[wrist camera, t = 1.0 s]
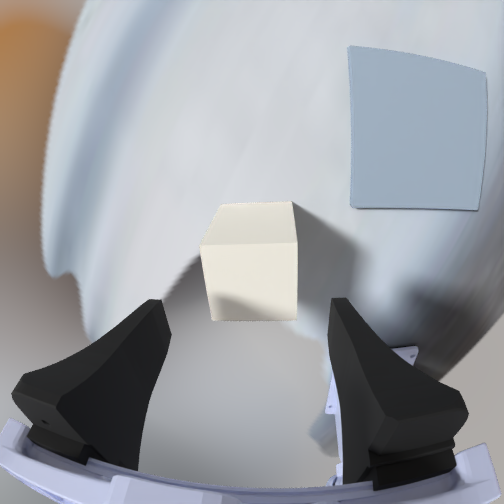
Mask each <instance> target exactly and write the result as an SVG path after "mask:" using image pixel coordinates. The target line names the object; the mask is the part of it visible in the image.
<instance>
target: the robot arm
mask: <svg viewBox="0 0 504 504" xmlns="http://www.w3.org/2000/svg"><path fill="white" fill-rule="evenodd" d="M171 335H172V334H171V331H170V328H169V325H168V321H167V318H166V314H165V311H164V308H163V304H162V300H154V299H149V300H147V301H146V302H145V303H143V304H142V305H141V306H140V307H138V308H137V309H136V310H135V311H134V312H132V313H131V314H130V315H129V316H128V317H126V318H125V319H124V320H123V321H122V322H120V323H119V324H118V325H117V326H116V327H114V328H113V329H112V330H110V331H109V332H108V333H106V334H105V335H104V336H102V337H101V338H100V339H98V340H97V341H95V342H94V343H92V344H91V345H89V346H88V347H86V348H85V349H83V350H81V351H79V352H77V353H76V354H73V355H72V356H70V357H68V358H66V359H64V360H62V361H59V362H57V363H55V364H52V365H50V366H47V367H45V368H42V369H39V370H35V371H32V372H29V373H25V374H24V375H23V376H22V377H21V379H20V381H19V382H18V384H17V385H16V387H15V388H14V390H13V392H12V393H11V394H12V398H13V400H14V402H15V404H16V405H17V406H18V407H19V408H20V409H21V411H22V412H23V413H24V414H25V415H26V416H27V418H28V419H29V420H30V421H31V422H32V423H33V425H32V427H31V429H30V428H29V427H28V426H26V425H25V424H23V423H21V422H19V421H17V420H15V419H13V418H9V420H8V422H7V423H6V425H5V427H4V429H3V430H2V432H1V434H0V466H1V467H2V468H3V469H5V470H6V471H7V472H9V473H10V474H11V475H12V476H14V477H15V478H16V479H18V480H19V481H21V482H22V483H24V484H25V485H27V486H29V487H30V488H32V489H34V490H36V491H37V492H39V493H41V494H43V495H44V496H46V497H48V498H50V499H52V500H53V501H55V502H57V503H59V504H489V503H491V502H492V501H494V500H495V499H497V498H498V497H500V496H501V491H500V487H499V483H498V480H497V476H496V473H495V470H494V466H493V463H492V460H491V457H490V454H489V451H488V448H487V445H486V443H482V444H479V445H477V446H474V447H472V448H469V449H466V450H463V451H461V452H459V453H457V454H456V455H454V453H453V450H452V449H453V448H454V447H455V442H454V439H453V437H454V436H455V435H456V434H457V432H458V431H459V430H460V429H461V427H462V426H463V425H464V423H465V422H466V420H467V418H468V414H469V413H468V410H467V408H466V405H465V402H464V400H463V398H462V396H461V394H460V392H459V391H458V390H456V389H453V388H451V387H449V386H447V385H444V384H442V383H440V382H438V381H437V380H435V379H433V378H431V377H429V376H428V375H426V374H424V373H423V372H421V371H420V370H418V369H416V368H415V367H414V366H413V364H414V362H415V359H416V357H417V354H418V352H419V350H418V347H417V346H411V347H403V348H394V349H391V348H390V347H388V346H387V345H386V344H385V343H384V342H383V341H382V340H381V339H380V338H379V337H378V336H377V334H376V333H375V332H374V331H373V330H372V329H371V328H370V327H369V325H368V324H367V323H366V322H365V321H364V320H363V318H362V317H361V316H360V315H359V313H358V312H357V311H356V310H355V308H354V307H353V306H352V304H351V303H350V302H349V300H348V299H347V298H331V307H330V317H329V326H328V346H329V356H330V360H331V365H332V370H333V372H332V377H331V383H330V388H329V393H328V398H327V403H326V408H325V412H326V413H327V414H335V420H336V429H337V439H338V450H339V457H340V460H341V463H339V464H337V465H336V471H337V475H334V476H332V477H331V478H330V479H329V480H328V482H327V484H326V486H323V487H308V488H248V487H247V488H246V487H231V486H220V485H211V484H203V483H195V482H189V481H182V480H176V479H171V478H166V477H160V476H156V475H151V474H147V473H142V472H138V464H139V453H140V446H141V439H142V432H143V427H144V422H145V417H146V413H147V408H148V404H149V400H150V397H151V394H152V391H153V389H154V386H155V384H156V381H157V378H158V376H159V373H160V371H161V368H162V366H163V363H164V360H165V358H166V355H167V352H168V348H169V344H170V339H171Z"/></svg>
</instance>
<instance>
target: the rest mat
mask: <svg viewBox="0 0 504 504" xmlns="http://www.w3.org/2000/svg"><path fill="white" fill-rule="evenodd" d="M347 49H348V61H349V76H350V96H351V196H350V205H351V207H352V208H434V209H464V210H478V206H479V200H480V193H481V186H482V178H483V169H484V159H485V147H486V127H487V90H486V72H483V71H479V70H476V69H473V68H470V67H466V66H463V65H459V64H455V63H452V62H448V61H444V60H439V59H435V58H430V57H426V56H421V55H416V54H410V53H405V52H398V51H392V50H385V49H377V48H369V47H359V46H349V47H347Z"/></svg>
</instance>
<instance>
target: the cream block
mask: <svg viewBox="0 0 504 504" xmlns="http://www.w3.org/2000/svg"><path fill="white" fill-rule="evenodd" d="M199 248H200V254H201V260H202V266H203V272H204V277H205V283H206V289H207V295H208V300H209V306H210V311H211V316H212V321H292V320H297V276H298V242H297V235H296V227H295V220H294V213H293V206H292V201H287V202H257V203H234V204H221V205H220V207H219V209H218V210H217V212H216V214H215V216H214V218H213V220H212V222H211V224H210V226H209V228H208V229H207V231H206V233H205V235H204V237H203V239H202V241H201V243H200V245H199Z"/></svg>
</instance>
